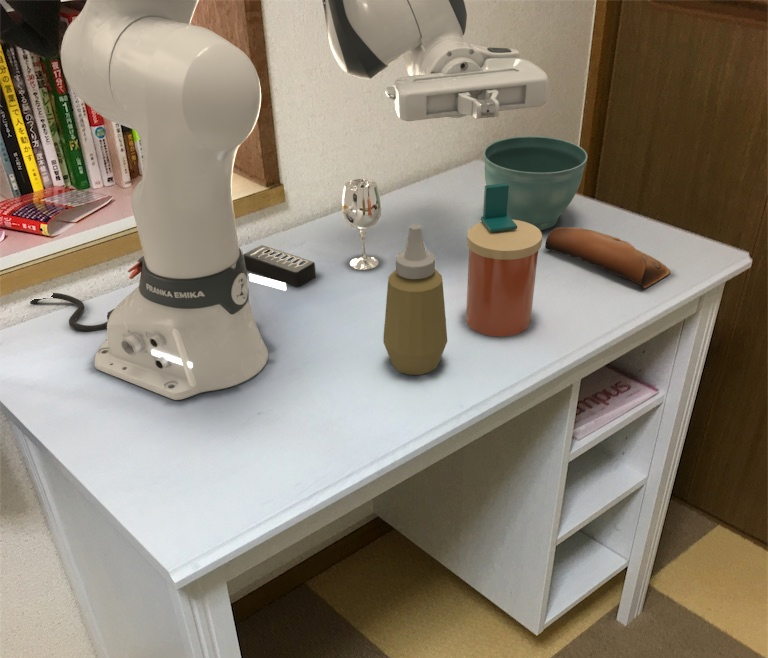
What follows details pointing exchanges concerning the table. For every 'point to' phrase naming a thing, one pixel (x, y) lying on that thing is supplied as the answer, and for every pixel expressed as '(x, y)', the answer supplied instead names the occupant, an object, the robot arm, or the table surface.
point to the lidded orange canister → (500, 294)
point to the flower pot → (536, 176)
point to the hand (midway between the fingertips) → (488, 111)
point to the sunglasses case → (607, 254)
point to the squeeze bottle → (415, 310)
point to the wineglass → (362, 214)
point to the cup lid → (505, 241)
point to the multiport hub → (280, 266)
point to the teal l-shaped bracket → (497, 208)
